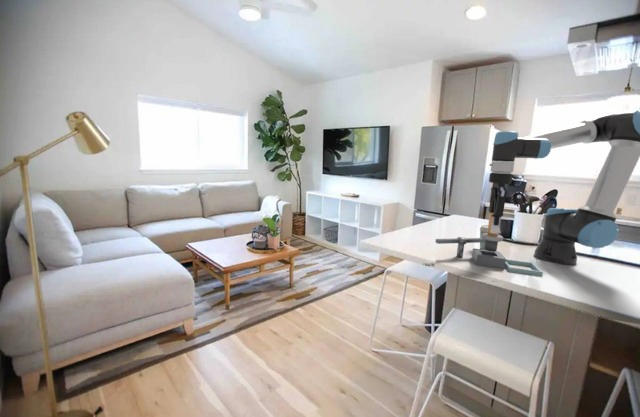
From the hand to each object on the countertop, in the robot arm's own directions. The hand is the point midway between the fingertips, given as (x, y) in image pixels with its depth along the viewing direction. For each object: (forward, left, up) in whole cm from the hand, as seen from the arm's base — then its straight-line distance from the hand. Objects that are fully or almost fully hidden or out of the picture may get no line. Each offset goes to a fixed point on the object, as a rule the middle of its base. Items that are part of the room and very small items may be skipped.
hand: (492, 231), depth 120 cm
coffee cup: (-4, -21, -14) cm, 26 cm away
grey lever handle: (+10, -3, -14) cm, 18 cm away
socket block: (+4, 0, -14) cm, 15 cm away
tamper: (0, 0, -8) cm, 8 cm away
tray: (-11, +2, -14) cm, 18 cm away
